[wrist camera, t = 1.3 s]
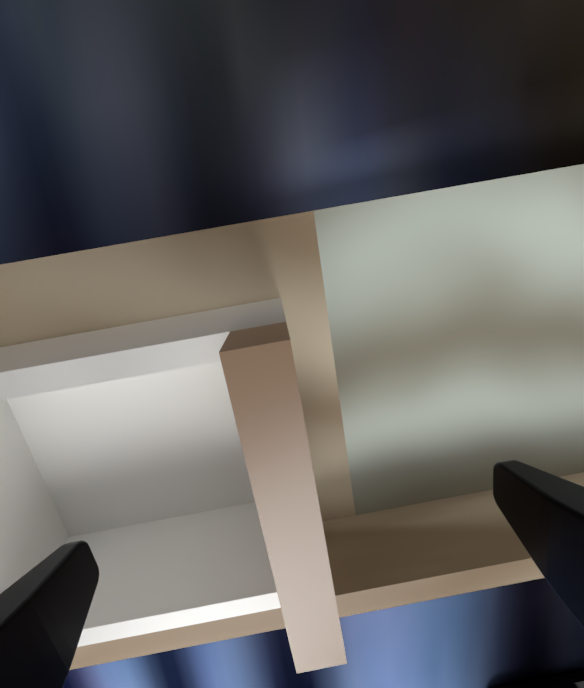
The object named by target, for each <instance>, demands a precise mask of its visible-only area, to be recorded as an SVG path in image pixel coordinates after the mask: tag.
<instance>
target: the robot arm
mask: <svg viewBox="0 0 584 688" xmlns="http://www.w3.org/2000/svg"><path fill="white" fill-rule="evenodd" d="M493 496H494V499H495V502H496V504H497V506H498V507H499V509H500V510H501V512H502V514H503V515H504V517H505V518H506V520H507V521H508V523H509V524H510V526H511V527H512V529H513V530H514V532H515V533H516V535H517V537H518V538H519V540H520V541H521V543H522V544H523V546H524V547H525V549H526V550H527V552H528V553H529V555H530V557H531V558H532V560H533V561H534V563H535V564H536V566H537V567H538V569H539V570H540V572H541V573H542V575H543V576H544V577H545V579H546V580H547V582H548V583H549V584H550V586H551V587H552V588H553V590H554V591H555V592H556V594H557V595H558V596H559V598H560V599H561V600H562V602H563V603H564V604H565V605H566V607H567V608H568V609H569V611H570V612H571V613H572V614H573V616H574V617H575V618H576V620H577V621H578V622H579V623H580V625H581V626H582V627H583V629H584V486H581V485H578V484H576V483H573V482H571V481H568V480H566V479H563V478H561V477H558V476H555V475H553V474H550V473H548V472H545V471H543V470H540V469H538V468H535V467H532V466H530V465H527V464H525V463H522V462H520V461H517V460H507V461H501V462H497V463H495V464H494V466H493ZM98 580H99V567H98V565H97V562H96V560H95V558H94V556H93V553H92V551H91V549H90V546H89V544H88V543H87V542H86V541H82V540H81V541H75V542H70V543H66V544H64V545H62V546H60V547H59V548H58V549H56V550H55V551H54V552H53V553H51V554H50V555H49V556H48V557H46V558H45V559H44V560H43V561H41V562H40V563H39V564H37V565H36V566H35V567H34V568H32V569H31V570H30V571H29V572H27V573H26V574H25V575H23V576H22V577H21V578H20V579H18V580H17V581H16V582H15V583H13V584H12V585H11V586H10V587H8V588H7V589H6V590H4V591H3V592H2V593H1V594H0V688H63V685H64V683H65V680H66V678H67V675H68V672H69V670H70V667H71V664H72V661H73V658H74V655H75V652H76V649H77V646H78V643H79V640H80V637H81V634H82V630H83V627H84V624H85V621H86V618H87V615H88V612H89V609H90V606H91V603H92V599H93V596H94V593H95V590H96V587H97V584H98ZM499 688H584V671H580V672H575V673H570V674H565V675H560V676H555V677H550V678H545V679H540V680H535V681H530V682H525V683H520V684H514V685H509V686H504V687H499Z"/></svg>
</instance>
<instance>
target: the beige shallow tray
mask: <svg viewBox="0 0 584 688" xmlns="http://www.w3.org/2000/svg"><path fill="white" fill-rule="evenodd" d="M276 298H281V302H282V306H283V310H284V315H285V319H286V323H287V328H288V332H289V336H290V341H291V347H292V352H293V358H294V364H295V369H296V375H297V381H298V386H299V392H300V398H301V404H302V409H303V415H304V421H305V426H306V432H307V438H308V443H309V449H310V455H311V461H312V466H313V472H314V478H315V483H316V489H317V495H318V500H319V506H320V512H321V518H322V523H323V529H324V535H325V540H326V546H327V552H328V557H329V563H330V569H331V575H332V580H333V586H334V592H335V597H336V603H337V609H338V614H339V618H340V617H345V616H350V615H355V614H360V613H365V612H371V611H376V610H381V609H386V608H391V607H396V606H401V605H407V604H412V603H417V602H422V601H427V600H432V599H438V598H443V597H448V596H453V595H458V594H463V593H468V592H474V591H479V590H484V589H489V588H494V587H499V586H505V585H510V584H515V583H520V582H525V581H530V580H535V579H541V578H545V577H544V576H543V575H542V573H541V572H540V570H539V569H538V567H537V566H536V564H535V563H534V561H533V560H532V558H531V557H530V555H529V553H528V552H527V550H526V549H525V547H524V546H523V544H522V543H521V541H520V540H519V538H518V537H517V535H516V533H515V532H514V530H513V529H512V527H511V526H510V524H509V523H508V521H507V520H506V518H505V517H504V515H503V514H502V512H501V510H500V509H499V507H498V506H497V504H496V502H495V499H494V496H493V466H494V464H495V463H497V462H501V461H507V460H517V461H520V462H522V463H525V464H527V465H530V466H532V467H535V468H538V469H540V470H543V471H545V472H548V473H550V474H553V475H555V476H558V477H561V478H563V479H566V480H568V481H571V482H573V483H576V484H578V485H581V486H584V164H581V165H575V166H569V167H563V168H557V169H552V170H546V171H540V172H534V173H528V174H523V175H517V176H511V177H505V178H499V179H494V180H488V181H482V182H476V183H470V184H465V185H459V186H453V187H447V188H442V189H436V190H430V191H424V192H418V193H413V194H407V195H401V196H395V197H389V198H384V199H378V200H372V201H366V202H360V203H355V204H349V205H343V206H337V207H331V208H326V209H320V210H314V211H308V212H302V213H297V214H291V215H285V216H279V217H273V218H268V219H262V220H256V221H250V222H245V223H239V224H233V225H227V226H221V227H216V228H210V229H204V230H198V231H192V232H187V233H181V234H175V235H169V236H163V237H158V238H152V239H146V240H140V241H134V242H129V243H123V244H117V245H111V246H105V247H100V248H94V249H88V250H82V251H77V252H71V253H65V254H59V255H53V256H48V257H42V258H36V259H30V260H24V261H19V262H13V263H7V264H1V265H0V347H5V346H10V345H16V344H22V343H27V342H33V341H39V340H44V339H50V338H56V337H61V336H67V335H72V334H78V333H84V332H89V331H95V330H101V329H106V328H112V327H118V326H123V325H129V324H135V323H140V322H146V321H152V320H157V319H163V318H169V317H174V316H180V315H186V314H191V313H197V312H203V311H208V310H214V309H220V308H225V307H231V306H236V305H242V304H248V303H253V302H259V301H265V300H270V299H276ZM283 628H286V627H285V623H284V619H283V614H282V610H281V608H277V609H272V610H267V611H262V612H257V613H252V614H246V615H241V616H236V617H231V618H226V619H220V620H215V621H210V622H205V623H200V624H195V625H189V626H184V627H179V628H174V629H169V630H163V631H158V632H153V633H148V634H143V635H137V636H132V637H127V638H122V639H117V640H112V641H106V642H101V643H96V644H91V645H86V646H80V647H77V649H76V652H75V655H74V658H73V661H72V664H71V667H70V670H72V669H77V668H82V667H87V666H92V665H97V664H102V663H108V662H113V661H118V660H123V659H128V658H133V657H139V656H144V655H149V654H154V653H159V652H164V651H169V650H175V649H180V648H185V647H190V646H195V645H200V644H206V643H211V642H216V641H221V640H226V639H231V638H236V637H242V636H247V635H252V634H257V633H262V632H267V631H273V630H278V629H283Z"/></svg>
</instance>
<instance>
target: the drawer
mask: <svg viewBox="0 0 584 688" xmlns="http://www.w3.org/2000/svg"><path fill="white" fill-rule="evenodd" d="M81 540H82V541H86V542H87V543H88V544H89V546H90V549H91V551H92V553H93V556H94V558H95V560H96V562H97V565H98V567H99V580H98V584H97V587H96V590H95V593H94V596H93V599H92V603H91V606H90V609H89V612H88V615H87V618H86V621H85V624H84V627H83V630H82V634H81V637H80V640H79V643H78V646H77V647H80V646H86V645H91V644H96V643H101V642H106V641H112V640H117V639H122V638H127V637H132V636H137V635H143V634H148V633H153V632H158V631H163V630H169V629H174V628H179V627H184V626H189V625H195V624H200V623H205V622H210V621H215V620H220V619H226V618H231V617H236V616H241V615H246V614H252V613H257V612H262V611H267V610H272V609H277V608H281V610H282V614H283V619H284V623H285V627H286V631H287V635H288V639H289V643H290V647H291V651H292V656H293V660H294V664H295V668H296V672H297V673H302V672H307V671H312V670H317V669H322V668H327V667H332V666H337V665H342V664H347V660H346V654H345V649H344V643H343V637H342V632H341V626H340V620H339V614H338V609H337V603H336V597H335V592H334V586H333V580H332V575H331V569H330V563H329V557H328V552H327V546H326V540H325V535H324V529H323V523H322V518H321V512H320V506H319V500H318V495H317V489H316V483H315V478H314V472H313V466H312V461H311V455H310V449H309V443H308V438H307V432H306V426H305V421H304V415H303V409H302V404H301V398H300V392H299V386H298V381H297V375H296V369H295V364H294V358H293V352H292V347H291V341H290V336H289V332H288V328H287V323H286V319H285V315H284V310H283V306H282V302H281V298H276V299H270V300H265V301H259V302H253V303H248V304H242V305H236V306H231V307H225V308H220V309H214V310H208V311H203V312H197V313H191V314H186V315H180V316H174V317H169V318H163V319H157V320H152V321H146V322H140V323H135V324H129V325H123V326H118V327H112V328H106V329H101V330H95V331H89V332H84V333H78V334H72V335H67V336H61V337H56V338H50V339H44V340H39V341H33V342H27V343H22V344H16V345H10V346H5V347H0V594H1V593H2V592H3V591H4V590H6V589H7V588H8V587H10V586H11V585H12V584H13V583H15V582H16V581H17V580H18V579H20V578H21V577H22V576H23V575H25V574H26V573H27V572H29V571H30V570H31V569H32V568H34V567H35V566H36V565H37V564H39V563H40V562H41V561H43V560H44V559H45V558H46V557H48V556H49V555H50V554H51V553H53V552H54V551H55V550H56V549H58V548H59V547H60V546H62V545H64V544H66V543H70V542H75V541H81Z"/></svg>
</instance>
